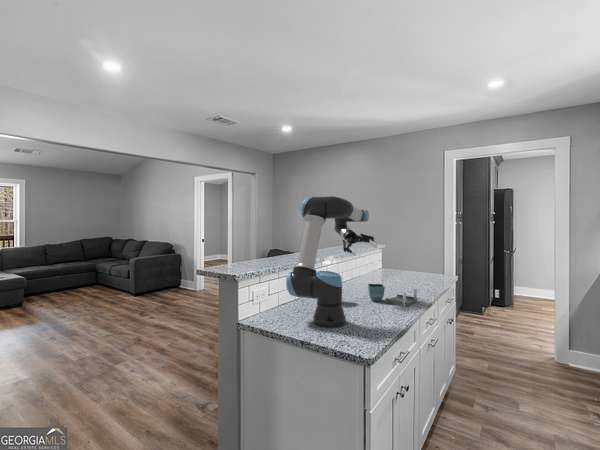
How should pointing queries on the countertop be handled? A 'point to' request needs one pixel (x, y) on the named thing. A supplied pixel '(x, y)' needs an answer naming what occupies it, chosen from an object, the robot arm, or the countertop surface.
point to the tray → (403, 299)
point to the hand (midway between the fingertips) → (365, 250)
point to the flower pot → (376, 291)
